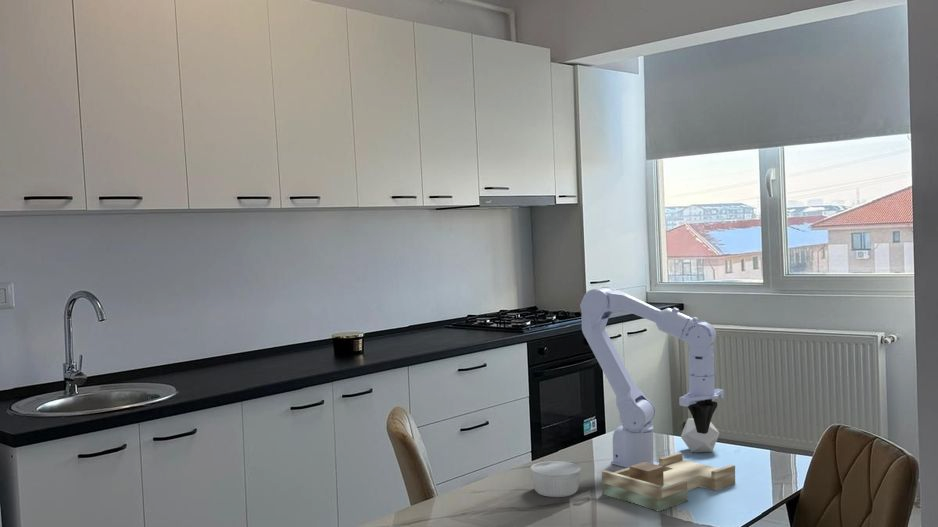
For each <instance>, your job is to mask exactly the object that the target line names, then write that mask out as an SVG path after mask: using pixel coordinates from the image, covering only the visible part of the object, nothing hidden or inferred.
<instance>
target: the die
mask: <svg viewBox="0 0 938 527" xmlns="http://www.w3.org/2000/svg"><path fill="white" fill-rule="evenodd" d="M719 435H720V432H719V431H718V429H717V428H716V427H715V425H714V424H713V423H712V421H711V422H710V426H709V430H708V433H706V434H702V433H697V430H696V426H695V423H694V419H693V417H692V418H689V417H688V418H687V419H686V422H685V424H684V428H683V429H682V432H681V435H680V438H681V439H682V441H683V442H684V444H685V445H686V446H687V448H688V449H689V451H690V452H691V453H711V452H713V451H714V448H715V445H716V443H717V441H718V439H719Z"/></svg>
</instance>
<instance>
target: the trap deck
mask: <svg viewBox="0 0 938 527" xmlns="http://www.w3.org/2000/svg"><path fill="white" fill-rule="evenodd" d="M658 462H659V466H663V476H664V485H663V486H660V485H656V484H653V483H649V482H646V481H642V480H638V479H635V478H631V477H630V467H629V468H626V467H625V468H623V469H620V470H617V471H616V470H615V471H614V472H612V471H609V470H606V469H605V470H602V471H601V486H602V488H601V492H602V495H604V496H607V497H610V498H613V497H614V499H616V498H617V499H616V500H620V499H621V500H620V501H623V500H625V501H624V502H626V501H628V502H627V503H629V502H631V503H630V504H633V503H635V504H634V505H636V504H639V505H642V506H645V507H644V508H646V507H648V508H647V509H649V508H651V509H650V510H652V509H655V510H658V511H657V512H661V511H660V510H662V511H664V510H667V509H669V507H670V508H672V507H675V506H678V505H681V504H683V503H685V502H688V491H691V490H695V489H696V488H700V487H701V488H704V489H708V490H712V491H715V492H716V491H719V490H721V489H724V488H727V487H729V486H731V485H735V484H736V465H733V464H729V465H726V466H723V467H720V468H719V467H715V466H711V465H707V464H702V463H698V462H694V461H690V460H686V459H683V453H682V452H676V453H674V454H673V453H672V454H670V455H665V456H663V457H659V459H658ZM639 505H638V506H639ZM642 506H641V507H642ZM666 508H667V509H666ZM663 509H664V510H663ZM655 510H654V511H655Z"/></svg>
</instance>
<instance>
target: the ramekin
mask: <svg viewBox="0 0 938 527" xmlns="http://www.w3.org/2000/svg"><path fill="white" fill-rule="evenodd" d="M529 468H530V470H529V471H530V474H531V478H532V479H531V480H532V486H533V489H534V490H535V492H536V493H537V494H538V495H541V496H545V497H547V498H548V497H550V498H564V497H570V496H572V495H574V494H576V493H577V491H578V490H579V485H580V479H581V473H582V467H581V466H580V465H579V464H577V463H573V462H569V461H561V460H560V461H559V460H558V461H557V460H555V461H554V460H553V461H552V460H551V461H550V460H549V461H542V462H538V463H534V464H531V466H530V467H529Z"/></svg>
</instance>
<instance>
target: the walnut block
mask: <svg viewBox="0 0 938 527" xmlns="http://www.w3.org/2000/svg"><path fill="white" fill-rule="evenodd" d="M630 477H631V478H635V479H638V480H642V481H646V482H649V483H653V484H656V485H660V486H663V485H664V476H663V466H659V465H655V464H651V463H647V462H643V463H639V464H636V465H633V466H630Z"/></svg>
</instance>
